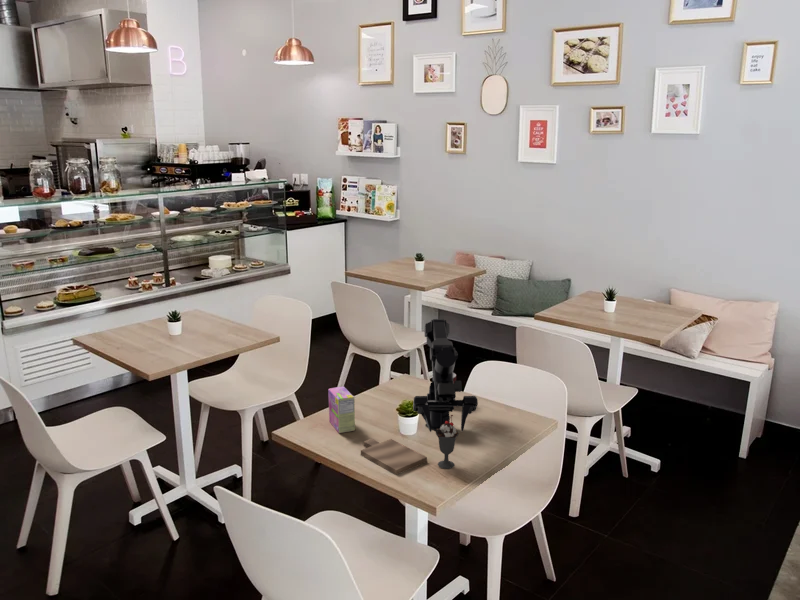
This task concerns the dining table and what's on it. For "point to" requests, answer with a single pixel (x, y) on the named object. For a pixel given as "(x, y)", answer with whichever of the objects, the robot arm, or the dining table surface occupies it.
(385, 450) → the board
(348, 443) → the dining table surface
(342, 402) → the box
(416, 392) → the dining table surface
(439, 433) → the sundae
